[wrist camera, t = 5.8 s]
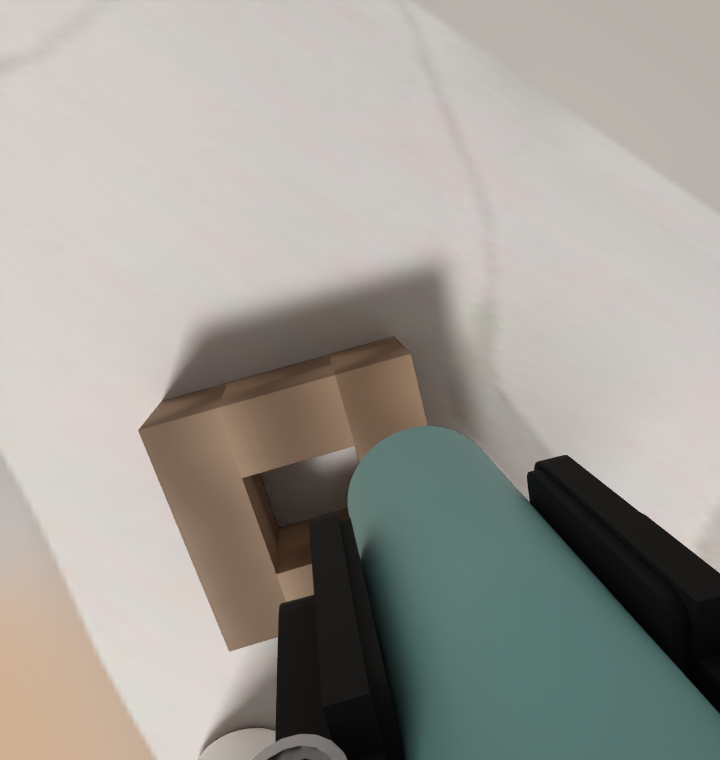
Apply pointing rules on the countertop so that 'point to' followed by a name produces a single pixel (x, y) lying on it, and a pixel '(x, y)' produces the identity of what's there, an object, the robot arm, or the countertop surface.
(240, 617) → the socket block
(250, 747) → the water bottle
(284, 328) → the countertop surface
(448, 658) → the dowel
